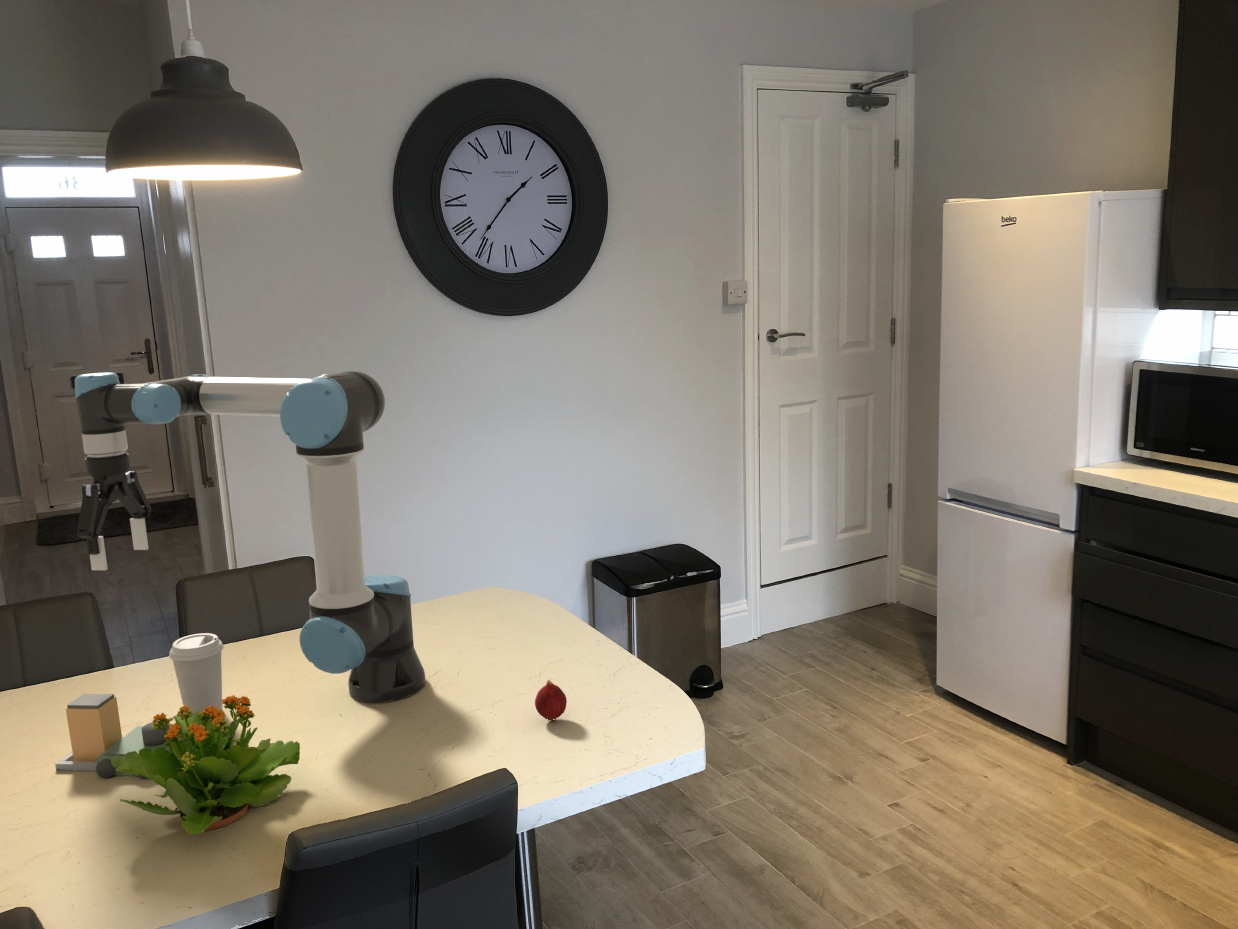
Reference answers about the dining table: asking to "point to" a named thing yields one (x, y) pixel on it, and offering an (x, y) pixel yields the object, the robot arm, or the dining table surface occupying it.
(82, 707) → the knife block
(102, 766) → the wheeled tray
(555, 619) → the dining table surface
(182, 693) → the coffee cup
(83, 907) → the dining table surface
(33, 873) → the dining table surface
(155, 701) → the dining table surface
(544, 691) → the onion
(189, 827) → the potted flower
